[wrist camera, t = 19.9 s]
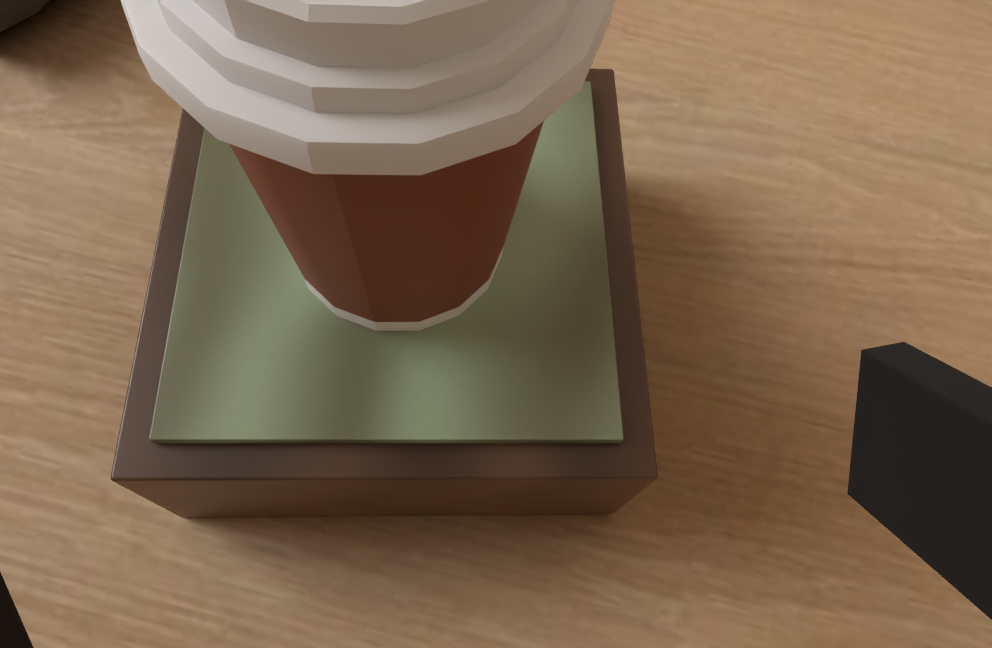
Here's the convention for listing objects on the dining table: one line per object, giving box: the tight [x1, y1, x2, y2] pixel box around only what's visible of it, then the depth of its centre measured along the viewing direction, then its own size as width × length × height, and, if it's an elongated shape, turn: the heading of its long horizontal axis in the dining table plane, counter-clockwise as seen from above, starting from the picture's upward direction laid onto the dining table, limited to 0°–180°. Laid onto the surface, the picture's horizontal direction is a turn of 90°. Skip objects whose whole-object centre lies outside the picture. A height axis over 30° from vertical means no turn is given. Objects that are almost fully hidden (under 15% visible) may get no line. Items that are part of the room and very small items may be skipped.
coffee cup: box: [121, 0, 615, 331], centre depth 17 cm, size 9×9×12 cm
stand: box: [111, 69, 658, 517], centre depth 26 cm, size 15×15×6 cm
